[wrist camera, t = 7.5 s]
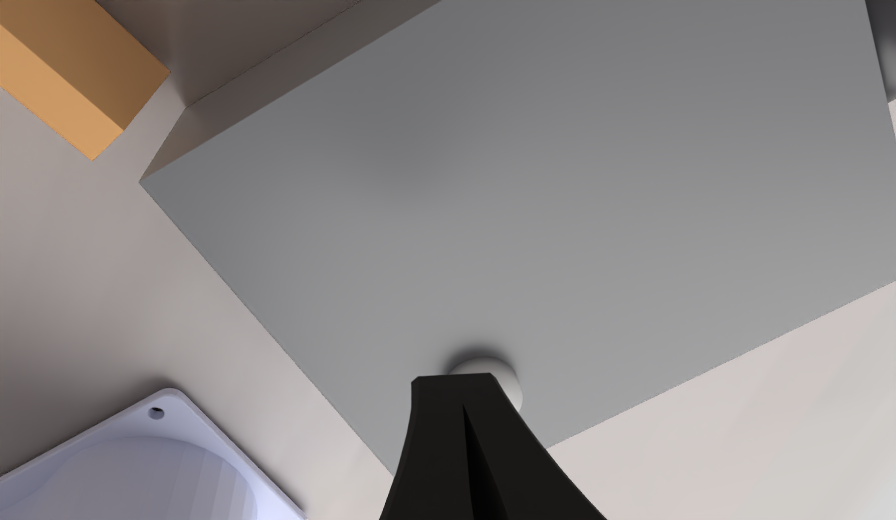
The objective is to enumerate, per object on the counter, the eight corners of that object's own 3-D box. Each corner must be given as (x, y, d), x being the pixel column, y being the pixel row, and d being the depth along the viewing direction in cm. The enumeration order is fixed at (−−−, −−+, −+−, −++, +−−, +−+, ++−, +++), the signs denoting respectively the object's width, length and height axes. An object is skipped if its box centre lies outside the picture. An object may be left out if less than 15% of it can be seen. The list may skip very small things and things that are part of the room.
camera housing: (409, 396, 25) (423, 525, 20) (185, 108, 20) (131, 193, 15) (865, 163, 23) (1002, 248, 18) (762, -244, 17) (924, -281, 12)
